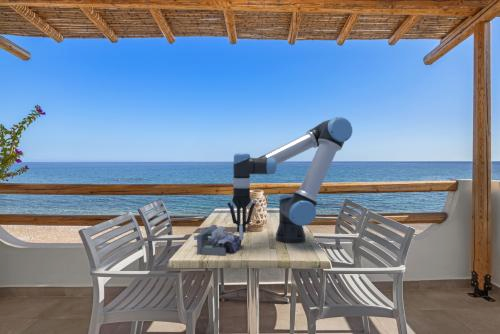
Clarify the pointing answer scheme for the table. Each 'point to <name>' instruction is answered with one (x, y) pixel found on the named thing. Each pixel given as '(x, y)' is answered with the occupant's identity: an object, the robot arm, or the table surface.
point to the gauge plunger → (214, 236)
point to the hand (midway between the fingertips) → (241, 239)
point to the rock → (229, 242)
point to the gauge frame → (208, 243)
